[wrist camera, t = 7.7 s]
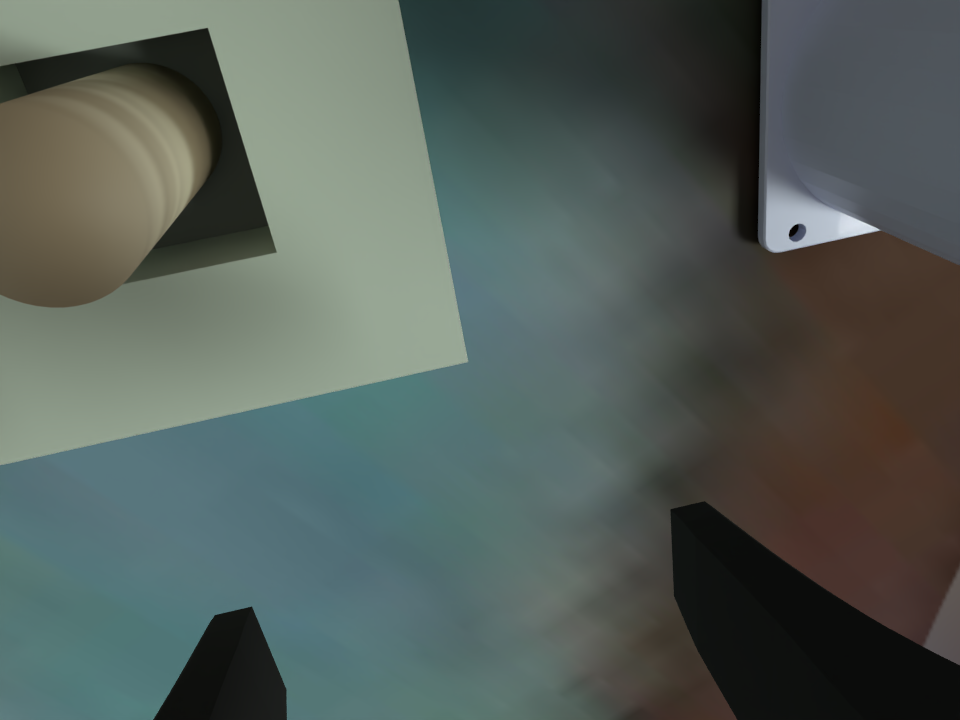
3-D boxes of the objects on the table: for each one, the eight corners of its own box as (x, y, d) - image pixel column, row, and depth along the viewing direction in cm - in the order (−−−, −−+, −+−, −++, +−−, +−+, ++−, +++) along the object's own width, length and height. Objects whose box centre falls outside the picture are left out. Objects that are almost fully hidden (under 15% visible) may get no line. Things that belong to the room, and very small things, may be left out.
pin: (210, 61, 16) (122, 103, 10) (231, 194, 18) (165, 301, 12) (68, 63, 16) (-112, 107, 10) (100, 199, 17) (-40, 313, 11)
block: (350, -204, 15) (351, -244, 13) (452, 314, 21) (467, 362, 18) (-250, -105, 14) (-384, -126, 12) (23, 407, 20) (-27, 471, 17)
